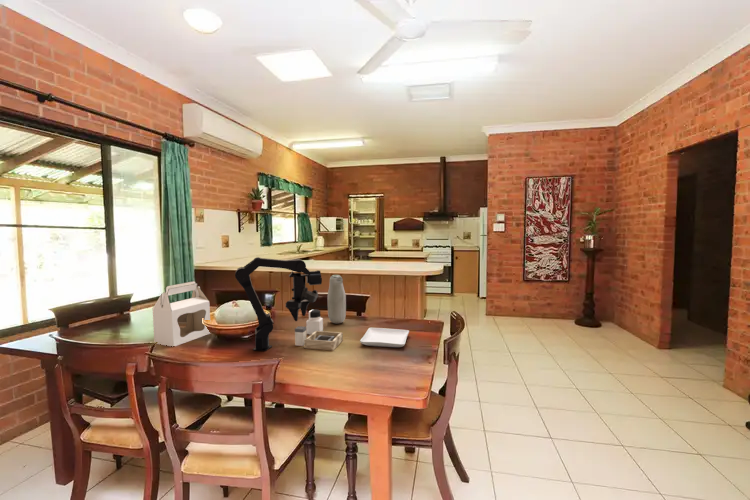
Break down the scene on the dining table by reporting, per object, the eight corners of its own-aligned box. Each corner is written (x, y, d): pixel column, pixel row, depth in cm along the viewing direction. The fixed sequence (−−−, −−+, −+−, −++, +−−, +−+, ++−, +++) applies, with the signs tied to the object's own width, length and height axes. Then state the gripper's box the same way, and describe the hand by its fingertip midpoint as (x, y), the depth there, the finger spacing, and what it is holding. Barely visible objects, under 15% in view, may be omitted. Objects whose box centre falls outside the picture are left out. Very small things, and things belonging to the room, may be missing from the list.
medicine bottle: (323, 330, 187) (322, 308, 186) (319, 334, 180) (319, 312, 179) (310, 330, 188) (309, 308, 187) (306, 334, 181) (305, 311, 180)
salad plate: (404, 350, 158) (404, 343, 157) (359, 347, 162) (359, 340, 162) (409, 336, 178) (409, 329, 178) (369, 333, 183) (369, 327, 182)
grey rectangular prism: (303, 345, 164) (302, 329, 163) (295, 345, 165) (294, 328, 164) (306, 343, 168) (306, 326, 167) (298, 342, 169) (298, 326, 168)
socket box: (333, 350, 158) (333, 341, 158) (304, 348, 161) (304, 340, 160) (342, 340, 172) (342, 332, 171) (315, 338, 174) (315, 330, 174)
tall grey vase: (349, 322, 203) (348, 274, 201) (338, 326, 194) (337, 276, 192) (335, 319, 208) (335, 273, 206) (324, 323, 200) (323, 275, 197)
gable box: (173, 347, 163) (169, 288, 161) (153, 343, 168) (150, 286, 166) (211, 333, 184) (209, 280, 182) (193, 330, 189) (190, 279, 187)
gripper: (308, 290, 154) (308, 324, 155) (322, 283, 172) (322, 314, 173) (284, 289, 156) (285, 323, 157) (301, 282, 174) (301, 313, 175)
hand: (300, 318), depth 166 cm, fingers open, 9 cm apart
